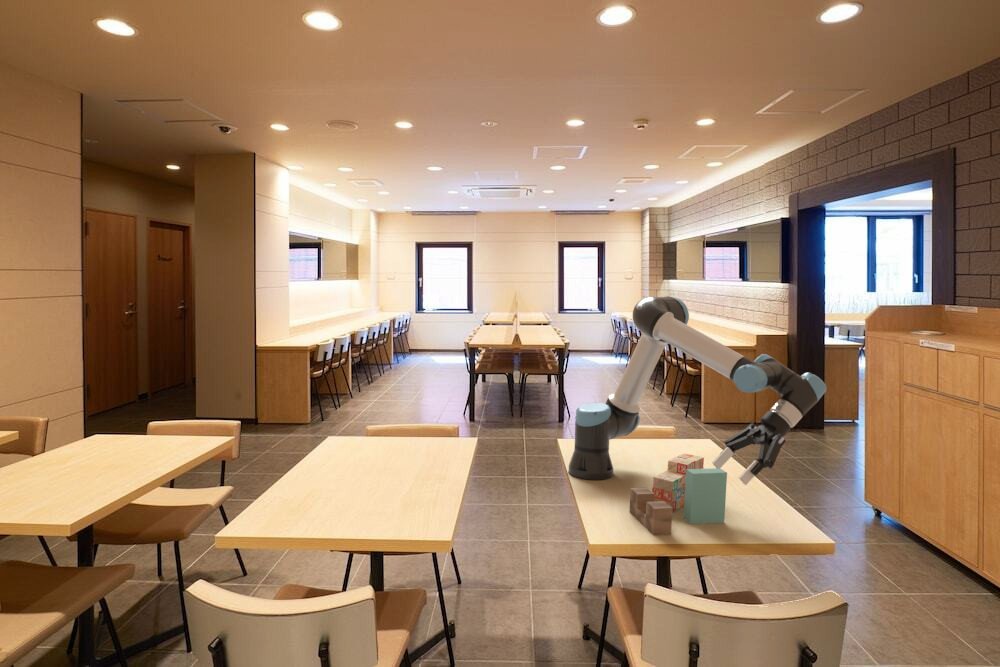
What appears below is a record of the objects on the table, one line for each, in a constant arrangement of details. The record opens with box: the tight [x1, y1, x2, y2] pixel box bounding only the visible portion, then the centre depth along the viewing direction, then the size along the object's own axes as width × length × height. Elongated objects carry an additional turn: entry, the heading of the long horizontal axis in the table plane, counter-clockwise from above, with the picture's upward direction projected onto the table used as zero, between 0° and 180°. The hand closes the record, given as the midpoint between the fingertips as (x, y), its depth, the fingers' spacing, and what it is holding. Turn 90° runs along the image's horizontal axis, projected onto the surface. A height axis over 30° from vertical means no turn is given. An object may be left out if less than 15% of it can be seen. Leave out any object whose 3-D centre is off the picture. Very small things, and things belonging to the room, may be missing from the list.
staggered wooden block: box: [629, 487, 673, 536], centre depth 167 cm, size 16×5×7 cm, turn 10°
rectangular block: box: [683, 467, 728, 525], centre depth 170 cm, size 4×10×14 cm, turn 100°
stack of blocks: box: [651, 453, 705, 512], centre depth 185 cm, size 21×6×12 cm, turn 139°
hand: (728, 473), depth 170 cm, fingers open, 13 cm apart
